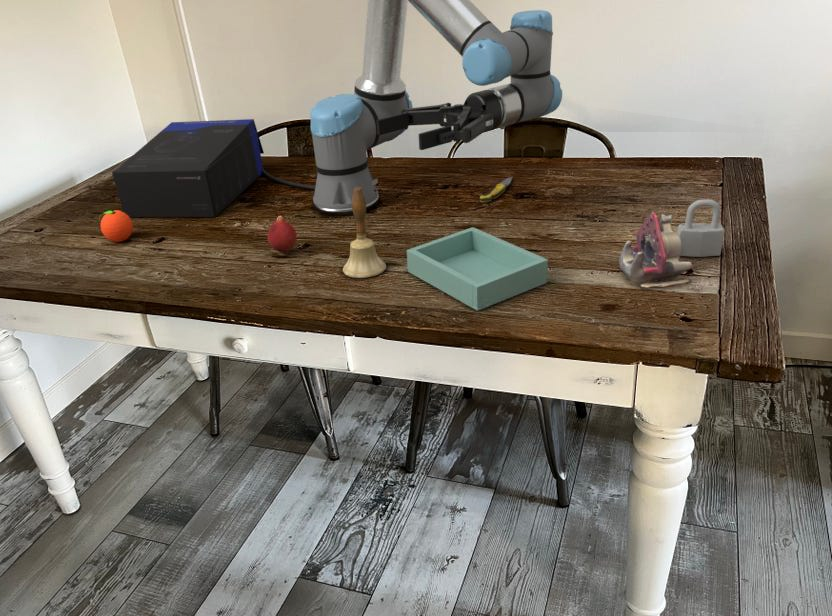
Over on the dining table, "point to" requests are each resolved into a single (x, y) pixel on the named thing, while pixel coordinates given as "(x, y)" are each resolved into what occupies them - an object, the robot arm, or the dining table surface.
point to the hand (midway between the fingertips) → (398, 134)
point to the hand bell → (362, 245)
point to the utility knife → (495, 191)
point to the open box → (477, 267)
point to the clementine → (116, 225)
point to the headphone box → (190, 169)
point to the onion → (282, 235)
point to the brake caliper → (654, 254)
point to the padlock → (701, 232)
